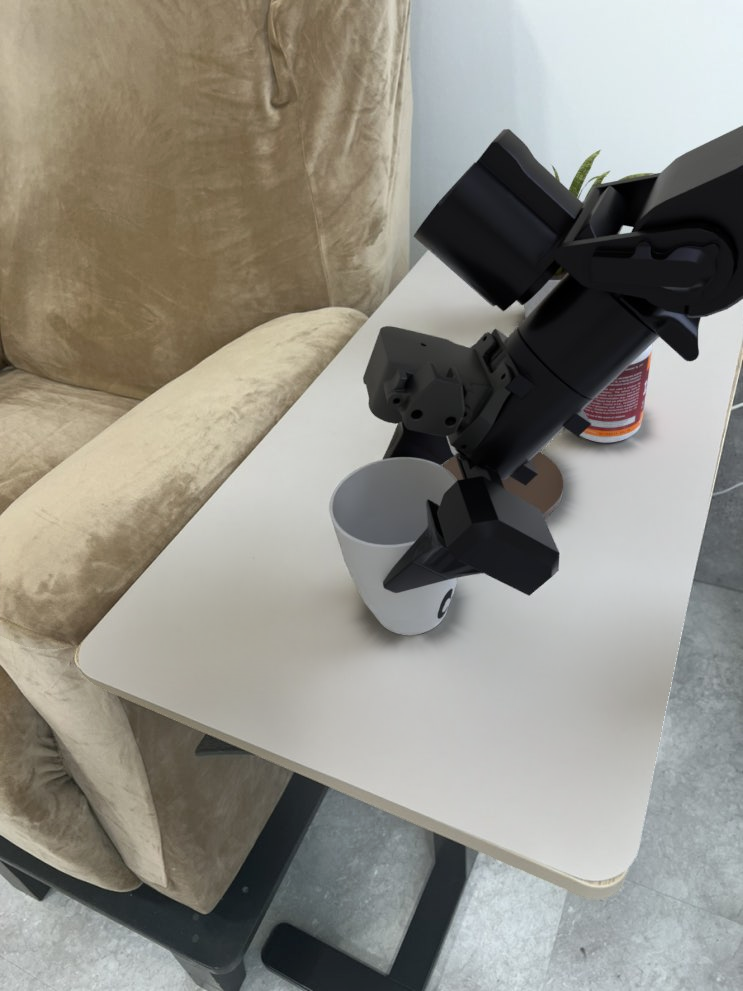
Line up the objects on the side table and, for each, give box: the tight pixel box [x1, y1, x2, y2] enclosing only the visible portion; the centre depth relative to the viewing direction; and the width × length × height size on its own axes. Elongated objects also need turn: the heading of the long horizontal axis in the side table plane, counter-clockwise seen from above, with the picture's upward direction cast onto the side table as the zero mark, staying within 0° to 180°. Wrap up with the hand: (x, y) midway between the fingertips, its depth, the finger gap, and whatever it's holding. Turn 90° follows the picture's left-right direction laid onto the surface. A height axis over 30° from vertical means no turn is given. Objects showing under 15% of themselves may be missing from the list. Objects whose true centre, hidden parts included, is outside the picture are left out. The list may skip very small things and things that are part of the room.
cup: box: [328, 457, 458, 636], centre depth 50 cm, size 8×8×10 cm
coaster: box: [442, 451, 564, 519], centre depth 61 cm, size 10×10×1 cm
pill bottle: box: [579, 342, 654, 443], centre depth 62 cm, size 6×6×11 cm
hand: (379, 541), depth 49 cm, fingers closed on cup, 8 cm apart
